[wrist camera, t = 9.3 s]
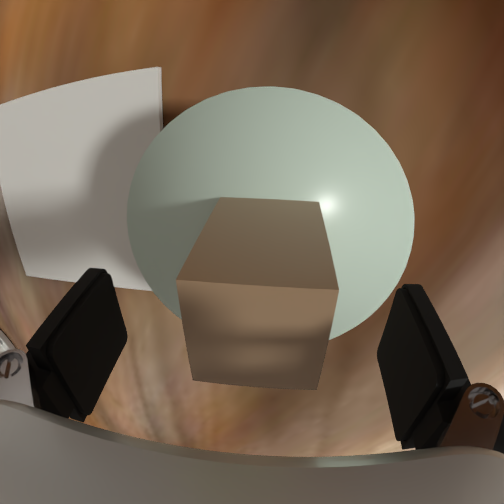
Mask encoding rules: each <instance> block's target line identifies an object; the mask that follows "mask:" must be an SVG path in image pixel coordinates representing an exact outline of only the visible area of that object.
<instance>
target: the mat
mask: <svg viewBox="0 0 504 504" xmlns="http://www.w3.org/2000/svg"><path fill="white" fill-rule="evenodd" d="M162 130H163V111H162V84H161V67H154V68H147V69H140V70H133V71H127V72H121V73H115V74H110V75H105V76H100V77H95V78H90V79H86V80H81V81H77V82H73V83H69V84H65V85H61V86H58V87H54V88H50V89H47V90H43V91H40V92H37V93H33V94H30V95H27V96H24V97H21V98H18V99H15V100H12V101H9V102H6V103H4V104H1V105H0V184H1V189H2V194H3V198H4V202H5V206H6V210H7V214H8V218H9V222H10V225H11V229H12V232H13V236H14V239H15V242H16V246H17V249H18V252H19V255H20V258H21V261H22V264H23V267H24V270H25V272H26V275H27V276H33V277H40V278H47V279H54V280H62V281H69V282H77V281H78V280H79V278H80V277H81V276H82V275H83V274H84V273H85V272H86V270H87V269H89V268H101V269H105V270H106V271H107V273H109V274H110V275H111V277H112V280H113V284H114V287H120V288H129V289H139V290H148V291H152V289H151V288H150V286H149V285H148V284H147V282H146V281H145V279H144V277H143V275H142V273H141V271H140V269H139V268H138V265H137V263H136V260H135V258H134V255H133V252H132V248H131V244H130V240H129V236H128V227H127V202H128V196H129V191H130V185H131V182H132V179H133V176H134V173H135V170H136V168H137V166H138V164H139V162H140V160H141V158H142V156H143V154H144V152H145V151H146V149H147V148H148V147H149V145H150V144H151V142H152V141H153V140H154V138H155V137H156V136H157V135H158V134H159V133H160V132H161V131H162Z"/></svg>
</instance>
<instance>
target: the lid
mask: <svg viewBox="0 0 504 504" xmlns="http://www.w3.org/2000/svg"><path fill="white" fill-rule="evenodd" d="M127 227H128V236H129V240H130V244H131V248H132V252H133V255H134V258H135V260H136V263H137V265H138V268H139V269H140V271H141V273H142V275H143V277H144V279H145V281H146V282H147V284H148V285H149V286H150V288H151V289H152V291H153V292H154V293H155V295H156V296H157V297H158V298H159V299H160V300H161V301H162V302H163V304H164V305H165V306H166V307H167V308H168V309H170V310H171V311H172V312H173V313H174V314H175V315H176V316H178V317H179V318H180V319H182V324H183V329H184V335H185V341H186V347H187V352H188V357H189V363H190V368H191V373H192V378H193V380H195V381H202V382H210V383H219V384H228V385H239V386H250V387H263V388H278V389H300V390H317V387H318V383H319V379H320V375H321V371H322V367H323V363H324V358H325V354H326V350H327V346H328V341H329V340H330V339H332V338H335V337H337V336H339V335H341V334H343V333H345V332H347V331H349V330H351V329H352V328H354V327H356V326H357V325H358V324H360V323H361V322H363V321H364V320H365V319H367V318H368V317H369V316H370V315H371V314H372V313H374V312H375V311H376V310H377V309H378V308H379V307H380V306H381V305H382V303H383V302H384V301H385V300H386V299H387V298H388V297H389V295H390V294H391V292H392V291H393V289H394V288H395V286H396V285H397V283H398V282H399V280H400V278H401V276H402V274H403V272H404V269H405V267H406V264H407V261H408V258H409V255H410V252H411V247H412V242H413V236H414V209H413V200H412V196H411V192H410V188H409V185H408V181H407V179H406V176H405V174H404V172H403V169H402V167H401V165H400V163H399V161H398V159H397V158H396V156H395V155H394V153H393V152H392V150H391V148H390V147H389V145H388V144H387V143H386V142H385V141H384V140H383V138H382V137H381V136H380V135H379V134H378V133H377V132H376V131H375V129H373V128H372V127H371V126H370V125H369V124H368V123H366V122H365V121H364V120H363V119H362V118H360V117H359V116H358V115H356V114H355V113H353V112H352V111H350V110H348V109H347V108H345V107H343V106H342V105H340V104H338V103H336V102H334V101H331V100H329V99H327V98H324V97H322V96H320V95H317V94H313V93H309V92H306V91H302V90H298V89H292V88H283V87H250V88H244V89H239V90H233V91H229V92H225V93H222V94H219V95H216V96H214V97H211V98H208V99H205V100H204V101H202V102H200V103H198V104H196V105H194V106H192V107H190V108H189V109H187V110H185V111H184V112H183V113H181V114H180V115H179V116H177V117H176V118H175V119H173V120H172V121H171V122H170V123H169V124H168V125H167V126H166V127H165V128H164V129H163V130H162V131H161V132H160V133H159V134H158V135H157V136H156V137H155V138H154V140H153V141H152V142H151V144H150V145H149V147H148V148H147V149H146V151H145V152H144V154H143V156H142V158H141V160H140V162H139V164H138V166H137V168H136V170H135V173H134V176H133V179H132V182H131V185H130V191H129V196H128V202H127Z"/></svg>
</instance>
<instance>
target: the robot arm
mask: <svg viewBox="0 0 504 504" xmlns="http://www.w3.org/2000/svg"><path fill="white" fill-rule="evenodd" d="M126 342H127V331H126V327H125V324H124V321H123V317H122V314H121V310H120V307H119V303H118V300H117V296H116V292H115V288H114V284H113V280H112V277H111V275H110V274H109V273H107V271H106V270H105V269H101V268H89V269H87V270H86V272H85V273H84V274H83V275H82V276H81V277H80V278H79V280H78V281H77V282H76V283H75V284H74V285H73V287H72V288H71V289H70V290H69V291H68V293H67V294H66V295H65V296H64V297H63V299H62V300H61V301H60V302H59V303H58V305H57V306H56V307H55V308H54V310H53V311H52V312H51V313H50V315H49V316H48V317H47V318H46V320H45V321H44V322H43V324H42V325H41V326H40V327H39V329H38V330H37V331H36V333H35V334H34V335H33V337H32V338H31V339H30V341H29V342H28V343H27V345H26V347H27V348H28V350H29V351H28V352H27V353H26V354H25V353H24V352H23V351H22V350H19V349H16V348H15V347H14V345H13V344H12V343H11V341H10V340H9V339H8V338H7V337H6V335H5V334H4V333H3V332H2V331H1V330H0V504H504V400H503V398H502V396H501V394H500V393H499V392H498V391H497V390H496V389H495V388H494V387H492V386H491V385H488V384H485V383H475V384H472V385H471V384H470V381H469V379H468V376H467V374H466V372H465V370H464V367H463V365H462V363H461V361H460V359H459V357H458V354H457V352H456V350H455V348H454V346H453V344H452V342H451V340H450V338H449V336H448V334H447V332H446V330H445V328H444V326H443V324H442V322H441V320H440V318H439V316H438V315H437V313H436V311H435V309H434V307H433V305H432V303H431V302H430V300H429V298H428V296H427V294H426V293H425V291H424V289H423V287H422V286H421V285H419V284H404V285H403V286H402V288H401V289H400V288H399V289H397V291H396V294H395V297H394V301H393V304H392V307H391V310H390V314H389V317H388V320H387V323H386V326H385V329H384V332H383V335H382V338H381V341H380V344H379V347H378V350H377V359H378V363H379V367H380V371H381V375H382V379H383V383H384V387H385V391H386V396H387V400H388V405H389V409H390V414H391V418H392V423H393V428H394V433H395V437H396V440H397V441H401V445H402V449H409V448H415V449H416V450H410V451H402V452H393V453H383V454H370V455H355V456H336V457H281V456H261V455H246V454H235V453H225V452H216V451H208V450H201V449H194V448H188V447H181V446H176V445H170V444H165V443H159V442H154V441H150V440H145V439H140V438H136V437H131V436H127V435H123V434H119V433H115V432H111V431H108V430H104V429H101V428H97V427H94V426H90V425H87V424H84V423H80V422H77V421H74V420H71V419H68V418H69V416H70V418H72V419H75V420H78V421H81V422H84V421H85V418H86V416H87V415H90V414H91V413H92V411H93V409H94V407H95V405H96V403H97V401H98V399H99V396H100V394H101V392H102V390H103V388H104V386H105V384H106V382H107V380H108V378H109V376H110V374H111V372H112V370H113V368H114V366H115V364H116V362H117V360H118V358H119V356H120V354H121V352H122V350H123V348H124V346H125V344H126Z"/></svg>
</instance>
